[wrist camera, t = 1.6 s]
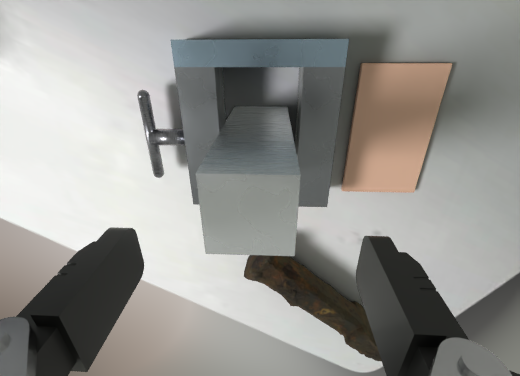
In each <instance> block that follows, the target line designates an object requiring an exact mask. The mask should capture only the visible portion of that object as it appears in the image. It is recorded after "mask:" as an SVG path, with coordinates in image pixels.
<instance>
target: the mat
mask: <svg viewBox="0 0 520 376" xmlns="http://www.w3.org/2000/svg"><path fill="white" fill-rule="evenodd" d="M451 67H452V63H361V66H360V73H359V79H358V85H357V92H356V98H355V105H354V111H353V118H352V124H351V131H350V137H349V144H348V150H347V157H346V163H345V170H344V176H343V183H342V191H361V192H414V191H415V187H416V184H417V181H418V177H419V174H420V171H421V167H422V164H423V161H424V157H425V154H426V151H427V147H428V144H429V141H430V137H431V134H432V131H433V127H434V124H435V120H436V117H437V114H438V110H439V107H440V104H441V100H442V97H443V94H444V90H445V87H446V84H447V80H448V77H449V74H450V70H451Z"/></svg>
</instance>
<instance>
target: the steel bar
mask: <svg viewBox="0 0 520 376" xmlns="http://www.w3.org/2000/svg"><path fill="white" fill-rule="evenodd" d="M300 176H301V175H300V170H299V164H298V159H297V154H296V149H295V144H294V139H293V133H292V128H291V123H290V118H289V113H288V108H287V107H282V106H235V107H234V108H233V110H232V112H231V114H230V115H229V117H228V119H227V120H226V122H225V124H224V126H223V127H222V129H221V131H220V132H219V134H218V136H217V138H216V139H215V141H214V143H213V145H212V146H211V148H210V150H209V151H208V153H207V155H206V157H205V158H204V160H203V162H202V163H201V165H200V167H199V169H198V170H197V172H196V181H197V189H198V197H199V205H200V212H201V220H202V228H203V236H204V244H205V252H206V254H234V255H270V256H295V245H296V231H297V218H298V204H299V190H300Z"/></svg>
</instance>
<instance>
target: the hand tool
mask: <svg viewBox="0 0 520 376" xmlns="http://www.w3.org/2000/svg"><path fill="white" fill-rule="evenodd" d="M244 277H245V278H247V279H248V280H252V281H258V282H260V283H263V284H265V285H267V286H268V287H269V288H271V289H273V290H274V291H276V292H278V293H279V294H281V295H282V296H283V297H284V298H285V299H286V300H287V302H288V303H289V304H290V306H299V307H300V308H302V309H303V310H305V311H307V312H308V313H310V314H311V315H313V316H314V317H316V318H317V319H319V320H321V321H322V322H324V323H325V324H327V325H329V326H330V327H332V328H333V329H335V330H336V331H338V332H339V333H340V334H342V335H343V336H344V338H345V342H346V344H347V345H349V346H350V347H352V348H354V349H356V350H357V351H358V352H359V353H360V354H364V355H365V356H366V357H368V358H372V359H374V360H376V361H382V360H381V357H380V354H379V351H378V348H377V345H376V342H375V339H374V336H373V333H372V330H371V327H370V324H369V321H368V318H367V315H366V312H365V309H364V308H363V307H362V306H361V305H360V304H359V303H358V302H356V301H354V302H350V301H348V300H347V299H346V298H344V297H343V296H342V295H341V294H339V293H338V292H337V291H336V290H334V288H332V287H331V286H330V285H328V284H326V283H325V282H323V281H322V280H321V279H319V278H318V277H316V276H315V275H314V274H313V273H312V272H311V271H309V270H308V269H306V268H305V267H304V266H303V265H301V264H299V263H297V262H296V261H294V260H293V259H292V258H291V257H289V256H270V255H250V256H249V257H248V260H247V264H246V267H245V271H244Z"/></svg>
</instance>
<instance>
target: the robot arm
mask: <svg viewBox="0 0 520 376" xmlns="http://www.w3.org/2000/svg"><path fill="white" fill-rule="evenodd" d="M143 270H144V261H143V257H142V253H141V249H140V245H139V242H138V238H137V234H136V231H135V230H134V229H133V228H109V229H108V230H106V232H105V233H104V234H103V235H102V236H101V237H100V238H99V239H98V240H97V242H92V243H90V244H89V245H87V246H86V247H84V248H83V249H81V250H80V251H78V252H77V253H76V254H75V255H74V256H73V257H72V258H71V259H70V261H69V262H68V263H67V265H66V266H64V267H63V268H62V269H61V270H60V271H59V272H58V275H57V276H54V277H53V278H52V279H51V280H50V282H49V283H48V284H47V285H46V286H45V287H44V288H43V289H42V290H41V291H40V292H39V293H38V294H37V295H36V296H35V297H34V298H33V300H32V301H30V303H29V304H28V305H27V306H26V307H25V308H24V309H23V310H22V311H21V312H20V313H19V314H18V315H17V316H16V317H8V318H4V319H1V320H0V376H68V374H69V373H70V371H81V372H87V371H88V370H89V368H90V366H91V365H92V363H93V361H94V359H95V358H96V356H97V354H98V352H99V350H100V349H101V347H102V345H103V344H104V342H105V340H106V339H107V336H108V335H109V333H110V331H111V330H112V328H113V326H114V324H115V323H116V321H117V319H118V318H119V316H120V314H121V312H122V311H123V309H124V307H125V305H126V304H127V302H128V300H129V298H130V297H131V295H132V293H133V292H134V290H135V288H136V286H137V285H138V283H139V281H140V279H141V277H142V274H143ZM428 278H429V277H428V276H427V274H426V273H425V271H424V270H423V268H422V266H421V265H420V264H419V263H418V262H417V261H416V260H415V259H413V258H412V257H411V256H410V255H409V254H407V253H404V252H398V250H397V248H396V247H395V245H394V243H393V241H392V240H391V238H390V237H384V236H365V237H364V238H363V242H362V246H361V251H360V256H359V260H358V265H357V270H356V281H357V287H358V290H359V293H360V296H361V299H362V303H363V306H364V309H365V312H366V315H367V318H368V321H369V324H370V327H371V330H372V333H373V336H374V339H375V342H376V345H377V348H378V351H379V354H380V357H381V360H382V363H383V366H384V369H385V372H386V375H387V376H520V374H517V373H514V372H511V371H509V370H508V368H507V367H506V366H505V365H504V363H503V362H502V361H501V360H500V359H499V358H498V357H497V356H495V355H494V354H493V353H492V352H490V351H489V350H487V349H486V348H485V347H483V346H481V345H479V344H477V343H475V342H473V341H470V340H469V339H468V338H467V336H466V334H465V333H464V331H463V330H462V328H461V327H460V325H459V324H458V322H457V321H456V319H455V317H454V316H453V314H452V313H451V311H450V310H449V308H448V307H447V305H446V304H445V302H444V300H443V299H442V297H441V296H440V294H439V293H438V292H436V288H435V287H434V285H433V283H432V282H431V280H429V279H428Z"/></svg>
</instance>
